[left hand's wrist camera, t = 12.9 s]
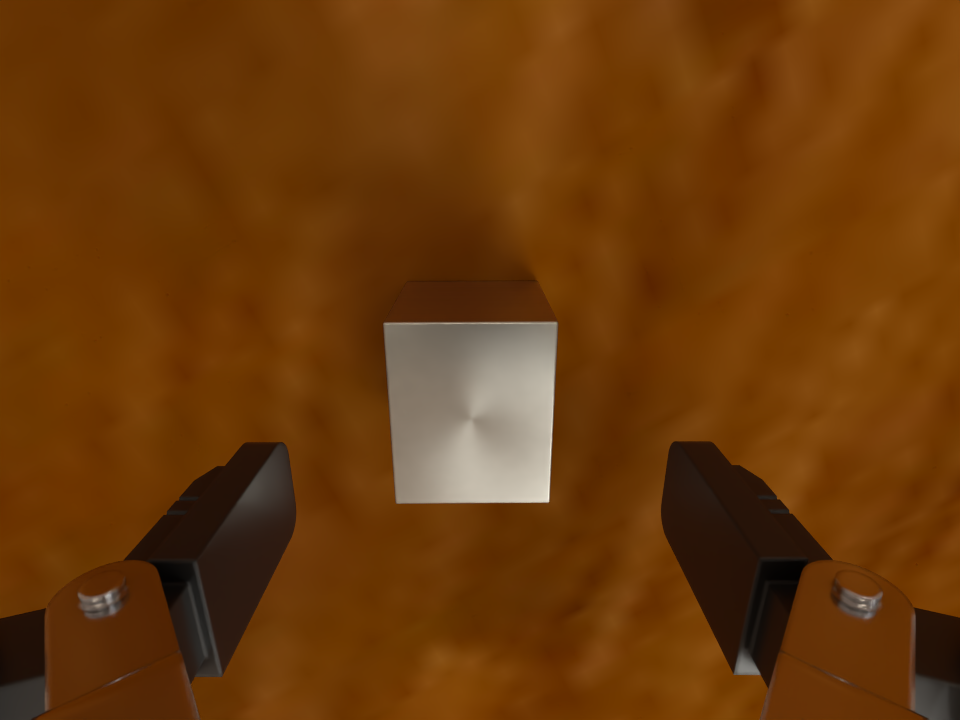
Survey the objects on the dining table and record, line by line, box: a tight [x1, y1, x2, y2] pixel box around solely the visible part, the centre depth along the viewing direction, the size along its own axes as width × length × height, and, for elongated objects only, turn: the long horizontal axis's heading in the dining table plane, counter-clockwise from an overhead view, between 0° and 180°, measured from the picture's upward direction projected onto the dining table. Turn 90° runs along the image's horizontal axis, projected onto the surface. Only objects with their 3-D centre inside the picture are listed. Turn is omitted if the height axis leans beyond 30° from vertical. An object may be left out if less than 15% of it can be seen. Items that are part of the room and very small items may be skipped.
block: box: [383, 281, 558, 504], centre depth 15 cm, size 4×5×4 cm
